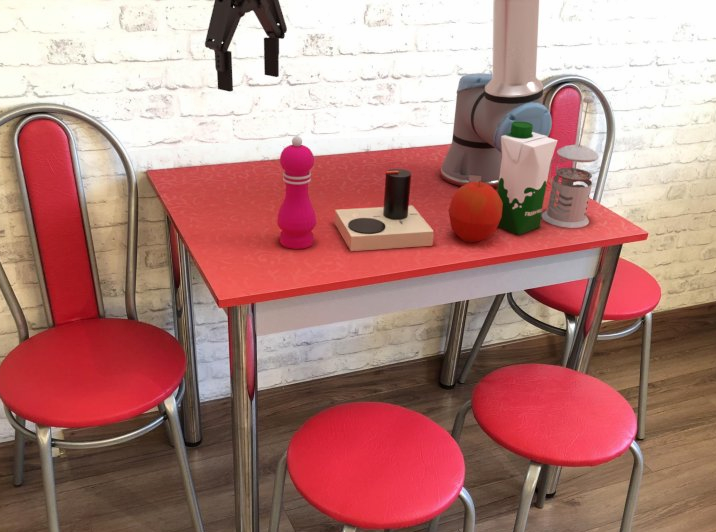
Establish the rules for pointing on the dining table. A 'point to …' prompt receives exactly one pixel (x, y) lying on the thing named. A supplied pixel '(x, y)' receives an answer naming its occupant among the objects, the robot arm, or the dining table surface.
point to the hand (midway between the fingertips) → (249, 82)
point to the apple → (475, 211)
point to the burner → (366, 225)
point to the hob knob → (397, 194)
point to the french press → (571, 186)
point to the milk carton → (523, 177)
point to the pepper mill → (296, 197)
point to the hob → (394, 236)
